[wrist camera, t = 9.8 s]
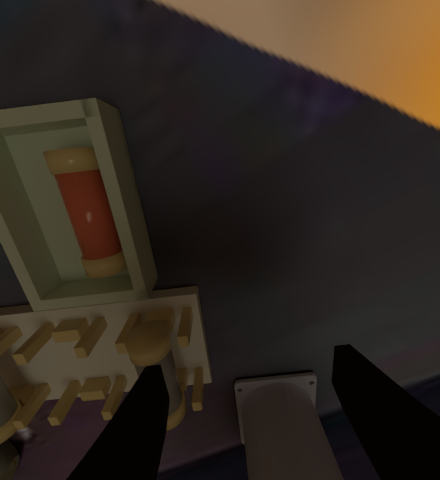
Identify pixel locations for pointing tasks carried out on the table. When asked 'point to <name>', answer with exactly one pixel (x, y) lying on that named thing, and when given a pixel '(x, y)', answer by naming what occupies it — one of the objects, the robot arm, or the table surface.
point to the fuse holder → (95, 351)
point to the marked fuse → (87, 209)
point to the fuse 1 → (7, 412)
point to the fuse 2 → (158, 362)
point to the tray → (53, 209)
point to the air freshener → (8, 460)
